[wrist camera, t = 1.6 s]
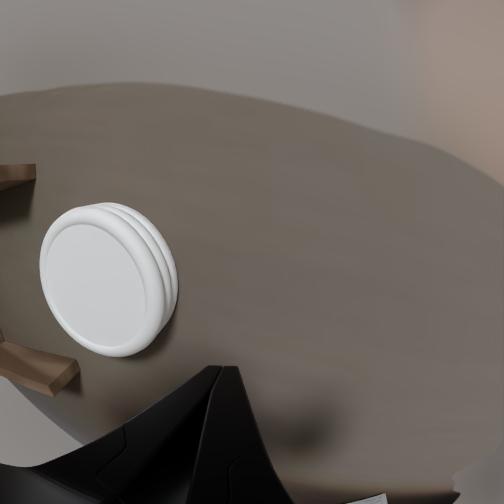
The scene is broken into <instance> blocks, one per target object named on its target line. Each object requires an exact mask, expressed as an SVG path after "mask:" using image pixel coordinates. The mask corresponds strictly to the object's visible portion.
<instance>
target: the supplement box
mask: <svg viewBox="0 0 504 504" xmlns="http://www.w3.org/2000/svg"><path fill="white" fill-rule="evenodd" d="M347 504H387V499H386V494H385V493H383V494H380V495H378V496H374V497H371V498H367V499H364V500H360V501H356V502H351V503H347Z"/></svg>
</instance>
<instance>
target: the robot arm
mask: <svg viewBox="0 0 504 504" xmlns="http://www.w3.org/2000/svg"><path fill="white" fill-rule="evenodd" d="M0 504H295V503H294V502H293V500H292V499H291V497H290V496H289V494H288V493H287V491H286V489H285V488H284V486H283V485H282V483H281V481H280V479H279V477H278V476H277V474H276V472H275V470H274V468H273V466H272V463H271V461H270V459H269V456H268V454H267V451H266V448H265V446H264V443H263V440H262V438H261V435H260V432H259V429H258V426H257V423H256V420H255V417H254V414H253V411H252V408H251V405H250V402H249V399H248V396H247V393H246V390H245V387H244V384H243V381H242V378H241V374H240V371H239V368H238V367H237V366H224V367H222V366H216V365H209V366H207V367H205V368H204V369H203V370H201V371H200V372H198V373H197V374H196V375H194V376H193V377H192V378H190V379H189V380H187V381H186V382H185V383H183V384H182V385H180V386H179V387H177V388H176V389H175V390H173V391H172V392H170V393H169V394H167V395H166V396H165V397H163V398H162V399H160V400H159V401H157V402H156V403H154V404H153V405H151V406H150V407H148V408H147V409H145V410H144V411H142V412H141V413H139V414H138V415H136V416H135V417H133V418H132V419H130V420H128V421H127V422H125V423H124V424H123V425H121V426H119V427H117V428H116V429H114V430H113V431H111V432H109V433H108V434H106V435H104V436H102V437H101V438H99V439H97V440H95V441H93V442H91V443H89V444H87V445H85V446H83V447H81V448H79V449H77V450H75V451H72V452H70V453H68V454H66V455H63V456H61V457H58V458H56V459H54V460H51V461H49V462H46V463H44V464H41V465H38V466H33V467H16V466H10V465H6V464H1V463H0Z"/></svg>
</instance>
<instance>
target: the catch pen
mask: <svg viewBox="0 0 504 504" xmlns="http://www.w3.org/2000/svg"><path fill="white" fill-rule="evenodd" d="M33 179H36V173H35V164H19V165H0V192H1V191H4V190H6V189H9V188H11V187H14V186H17V185H19V184H22V183H25V182H27V181H30V180H33ZM79 371H80V369H79V366H78V364H77V361H76V359H71V358H67V357H62V356H58V355H53V354H49V353H45V352H41V351H37V350H33V349H29V348H26V347H22V346H19V345H15V344H12V343H9V342H5V341H4V338H3V336H2V333H1V330H0V375H1V376H3V377H5V378H8V379H10V380H12V381H14V382H16V383H19V384H21V385H23V386H26V387H28V388H31V389H33V390H36V391H38V392H41V393H43V394H46V395H49V396H52V397H55V396H56V395H57V394H58V392H59V391H60V390H61V389H62V388H63V387H64V386H65V385H66V384H67V383H68V382H69V381H70V380H71V379H72V378H73V377H74V376H75V375H76V374H77V373H78V372H79Z"/></svg>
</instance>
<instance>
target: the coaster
mask: <svg viewBox="0 0 504 504" xmlns="http://www.w3.org/2000/svg"><path fill="white" fill-rule="evenodd" d="M40 277H41V284H42V288H43V292H44V295H45V298H46V300H47V303H48V305H49V307H50V309H51V311H52V313H53V315H54V316H55V318H56V319H57V321H58V322H59V324H60V325H61V326H62V327H63V329H64V330H65V331H66V332H67V333H68V334H69V335H70V336H71V337H72V338H73V339H74V340H76V341H77V342H78V343H80V344H81V345H82V346H84V347H86V348H87V349H89V350H91V351H93V352H96V353H98V354H101V355H104V356H109V357H125V356H129V355H133V354H135V353H137V352H139V351H141V350H143V349H144V348H146V347H147V346H148V345H149V344H150V343H151V342H152V341H153V340H154V339H155V337H156V336H157V334H158V333H159V332H160V331H161V330H162V328H163V327H164V326H165V325H166V324H167V322H168V321H169V319H170V318H171V315H172V313H173V311H174V308H175V305H176V301H177V293H178V278H177V270H176V266H175V262H174V259H173V256H172V254H171V251H170V249H169V247H168V245H167V243H166V241H165V240H164V238H163V237H162V235H161V234H160V232H159V231H158V230H157V228H156V227H155V226H154V225H153V224H152V223H151V222H150V221H149V220H148V219H147V218H146V217H144V216H143V215H141V214H140V213H139V212H137V211H135V210H133V209H131V208H129V207H127V206H124V205H121V204H117V203H99V204H93V205H88V206H82V207H77V208H74V209H71V210H69V211H68V212H66V213H64V214H63V215H61V216H60V217H59V218H58V219H57V220H56V221H55V222H54V223H53V224H52V225H51V227H50V228H49V230H48V231H47V233H46V235H45V238H44V240H43V244H42V247H41V253H40Z"/></svg>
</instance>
